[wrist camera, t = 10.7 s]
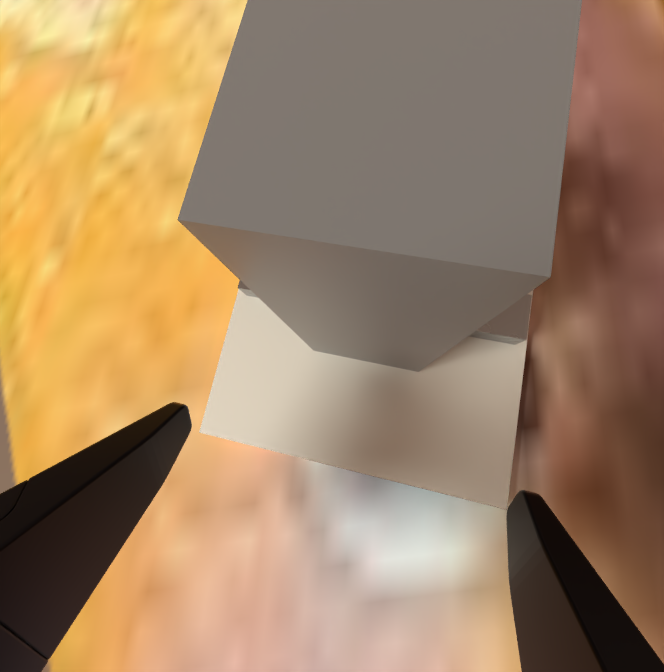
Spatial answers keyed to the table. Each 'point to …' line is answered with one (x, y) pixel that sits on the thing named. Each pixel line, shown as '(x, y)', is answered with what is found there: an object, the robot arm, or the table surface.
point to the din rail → (500, 328)
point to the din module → (388, 166)
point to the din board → (371, 407)
